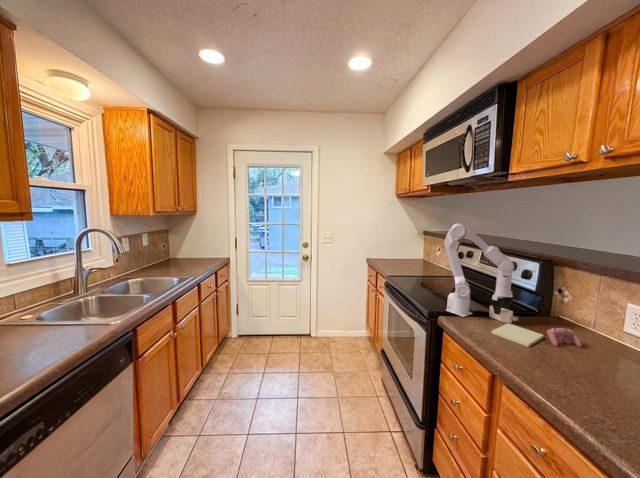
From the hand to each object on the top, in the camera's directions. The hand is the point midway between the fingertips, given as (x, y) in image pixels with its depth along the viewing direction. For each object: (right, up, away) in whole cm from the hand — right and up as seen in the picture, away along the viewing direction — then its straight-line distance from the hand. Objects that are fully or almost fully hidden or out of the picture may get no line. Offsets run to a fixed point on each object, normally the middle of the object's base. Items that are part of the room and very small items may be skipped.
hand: (500, 312), depth 130 cm
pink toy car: (+9, -7, -22) cm, 25 cm away
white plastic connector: (0, -3, 0) cm, 3 cm away
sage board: (-4, -5, -16) cm, 17 cm away
